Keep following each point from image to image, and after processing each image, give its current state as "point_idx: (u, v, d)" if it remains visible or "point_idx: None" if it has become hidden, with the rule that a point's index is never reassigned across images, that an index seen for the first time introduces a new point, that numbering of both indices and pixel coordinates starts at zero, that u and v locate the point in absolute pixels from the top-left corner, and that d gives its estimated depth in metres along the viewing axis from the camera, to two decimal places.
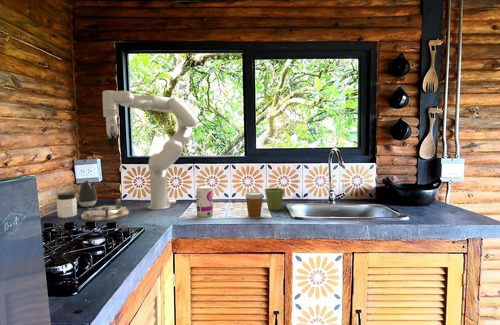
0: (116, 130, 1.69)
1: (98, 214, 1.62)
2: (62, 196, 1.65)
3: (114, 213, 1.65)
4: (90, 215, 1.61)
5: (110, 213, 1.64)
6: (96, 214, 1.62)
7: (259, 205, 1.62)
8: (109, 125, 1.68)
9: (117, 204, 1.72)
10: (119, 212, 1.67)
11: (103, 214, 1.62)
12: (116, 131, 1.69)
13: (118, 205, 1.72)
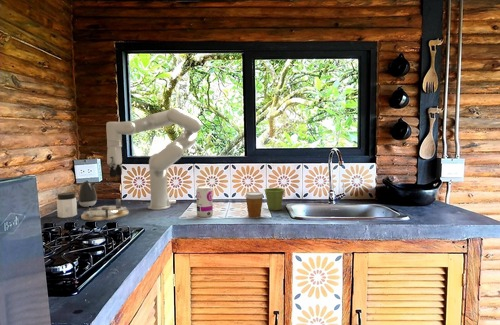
0: None
1: (98, 214, 1.62)
2: (62, 196, 1.65)
3: (114, 213, 1.65)
4: (90, 215, 1.61)
5: (110, 213, 1.64)
6: (96, 214, 1.62)
7: (259, 205, 1.62)
8: None
9: (117, 204, 1.72)
10: (119, 212, 1.67)
11: (103, 214, 1.62)
12: None
13: (118, 205, 1.72)
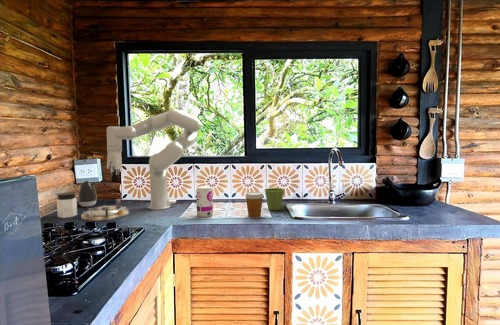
0: None
1: (98, 214, 1.62)
2: (62, 196, 1.65)
3: (114, 213, 1.65)
4: (90, 215, 1.61)
5: (110, 213, 1.64)
6: (96, 214, 1.62)
7: (259, 205, 1.62)
8: None
9: (117, 204, 1.72)
10: (119, 212, 1.67)
11: (103, 214, 1.62)
12: None
13: (118, 205, 1.72)
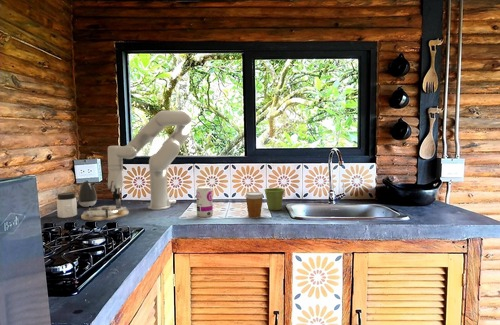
0: None
1: (98, 214, 1.62)
2: (62, 196, 1.65)
3: (114, 213, 1.65)
4: (90, 215, 1.61)
5: (110, 213, 1.64)
6: (96, 214, 1.62)
7: (259, 205, 1.62)
8: None
9: (117, 204, 1.72)
10: (119, 212, 1.67)
11: (103, 214, 1.62)
12: None
13: (118, 205, 1.72)
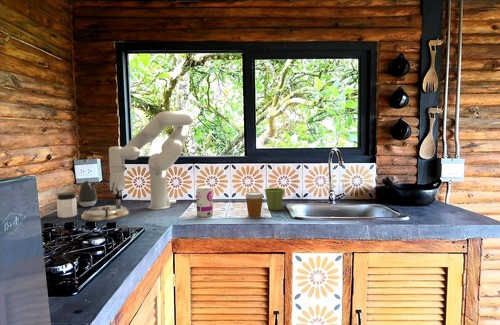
0: None
1: (95, 214, 1.62)
2: (62, 196, 1.65)
3: (111, 214, 1.64)
4: (87, 215, 1.61)
5: None
6: (93, 213, 1.62)
7: (259, 205, 1.62)
8: None
9: (117, 204, 1.71)
10: (116, 213, 1.65)
11: (99, 214, 1.62)
12: None
13: (118, 205, 1.71)
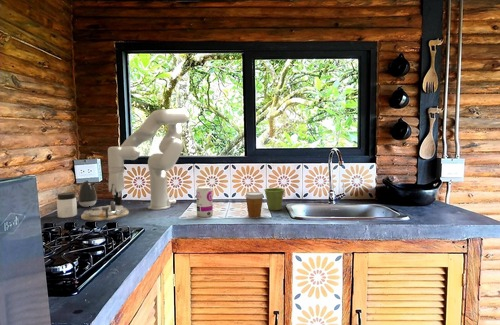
0: None
1: (86, 212, 1.65)
2: (62, 196, 1.65)
3: (95, 215, 1.62)
4: None
5: (92, 214, 1.62)
6: (86, 212, 1.66)
7: (259, 205, 1.62)
8: None
9: (110, 206, 1.66)
10: (100, 215, 1.61)
11: None
12: None
13: (111, 208, 1.66)
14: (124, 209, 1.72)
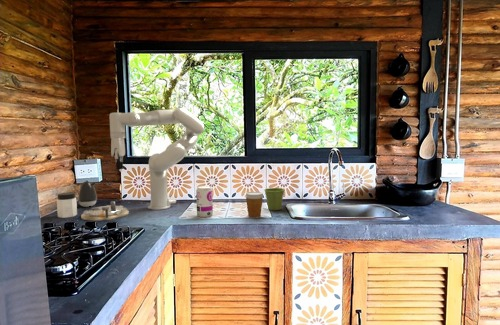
0: None
1: (86, 212, 1.65)
2: (62, 196, 1.65)
3: (95, 215, 1.62)
4: None
5: (92, 214, 1.62)
6: (86, 212, 1.66)
7: (259, 205, 1.62)
8: None
9: (110, 206, 1.66)
10: (100, 215, 1.61)
11: None
12: None
13: (111, 208, 1.66)
14: (124, 209, 1.72)
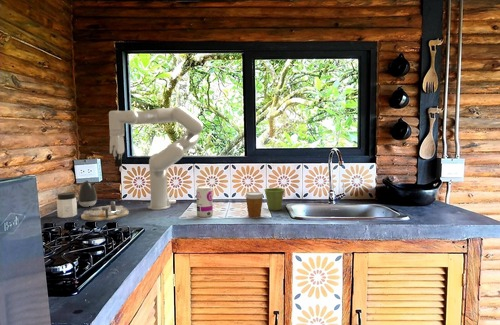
0: None
1: (86, 212, 1.65)
2: (62, 196, 1.65)
3: (95, 215, 1.62)
4: None
5: (92, 214, 1.62)
6: (86, 212, 1.66)
7: (259, 205, 1.62)
8: None
9: (110, 206, 1.66)
10: (100, 215, 1.61)
11: None
12: None
13: (111, 208, 1.66)
14: (124, 209, 1.72)
